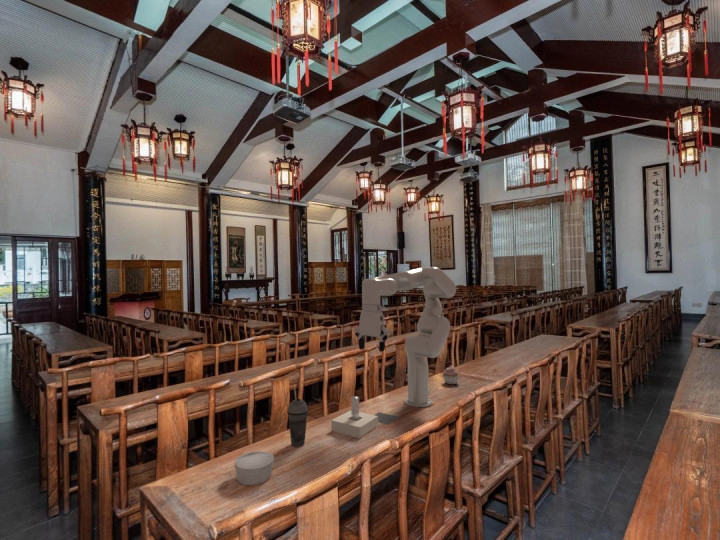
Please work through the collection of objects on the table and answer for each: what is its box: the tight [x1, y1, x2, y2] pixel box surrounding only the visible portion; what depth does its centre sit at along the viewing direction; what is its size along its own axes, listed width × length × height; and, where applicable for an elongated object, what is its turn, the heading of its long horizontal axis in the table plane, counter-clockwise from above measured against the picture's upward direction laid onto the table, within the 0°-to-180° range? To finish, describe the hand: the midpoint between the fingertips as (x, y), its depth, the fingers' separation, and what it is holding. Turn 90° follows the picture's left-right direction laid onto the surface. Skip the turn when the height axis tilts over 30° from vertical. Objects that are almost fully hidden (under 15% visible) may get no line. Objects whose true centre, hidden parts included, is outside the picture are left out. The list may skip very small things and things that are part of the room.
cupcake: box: [441, 365, 461, 386], centre depth 206 cm, size 9×9×10 cm
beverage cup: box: [287, 386, 309, 448], centre depth 132 cm, size 7×7×20 cm
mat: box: [374, 411, 400, 425], centre depth 154 cm, size 10×10×1 cm
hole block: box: [331, 409, 379, 439], centre depth 145 cm, size 13×13×4 cm
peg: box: [350, 395, 360, 421], centre depth 145 cm, size 3×3×12 cm
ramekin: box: [234, 450, 275, 486], centre depth 110 cm, size 11×11×5 cm
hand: (371, 349), depth 155 cm, fingers open, 9 cm apart
